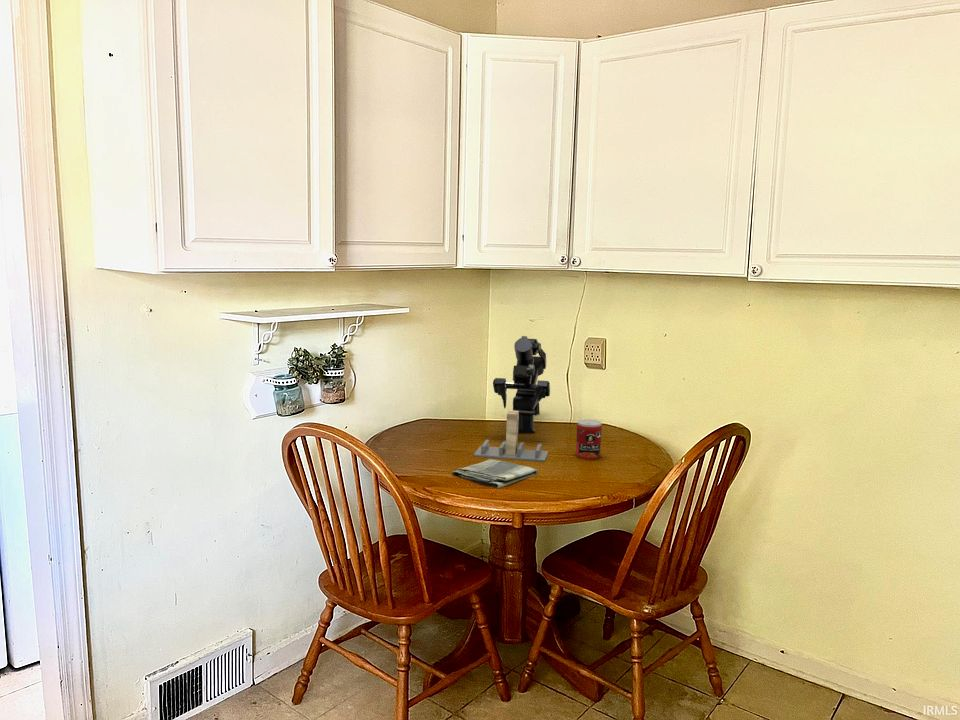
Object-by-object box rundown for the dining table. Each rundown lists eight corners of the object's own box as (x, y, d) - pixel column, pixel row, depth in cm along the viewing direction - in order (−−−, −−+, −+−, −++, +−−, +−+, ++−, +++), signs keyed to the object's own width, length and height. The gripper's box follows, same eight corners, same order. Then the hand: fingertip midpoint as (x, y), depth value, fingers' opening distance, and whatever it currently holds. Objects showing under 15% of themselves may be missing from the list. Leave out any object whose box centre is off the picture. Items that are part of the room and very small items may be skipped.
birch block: (507, 450, 229) (509, 410, 227) (517, 451, 229) (518, 411, 227) (505, 454, 225) (506, 413, 223) (515, 455, 225) (516, 414, 223)
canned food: (576, 459, 224) (578, 424, 222) (574, 452, 232) (575, 418, 230) (601, 460, 224) (603, 425, 222) (598, 452, 232) (600, 419, 230)
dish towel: (490, 463, 220) (490, 453, 219) (538, 476, 208) (539, 465, 208) (449, 477, 206) (449, 466, 205) (498, 491, 194) (499, 480, 194)
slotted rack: (480, 447, 234) (480, 438, 234) (548, 453, 230) (548, 443, 229) (473, 456, 224) (474, 446, 224) (544, 462, 220) (545, 452, 220)
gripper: (494, 354, 241) (487, 393, 233) (550, 357, 238) (545, 397, 229) (498, 373, 250) (491, 411, 242) (552, 376, 247) (547, 415, 238)
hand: (518, 408), depth 237 cm, fingers open, 9 cm apart
